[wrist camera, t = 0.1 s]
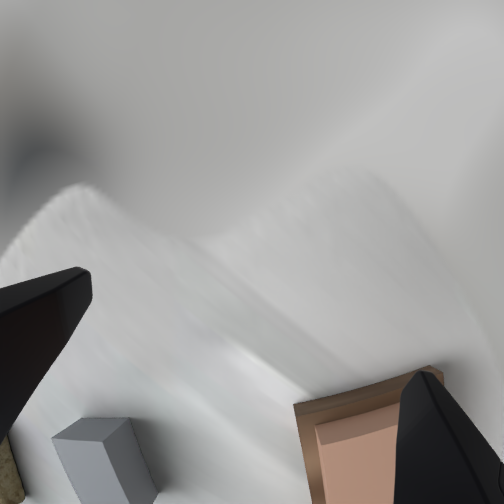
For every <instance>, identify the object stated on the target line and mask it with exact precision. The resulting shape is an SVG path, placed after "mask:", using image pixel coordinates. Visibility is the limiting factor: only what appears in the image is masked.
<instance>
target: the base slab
mask: <svg viewBox="0 0 504 504" xmlns="http://www.w3.org/2000/svg"><path fill="white" fill-rule="evenodd" d="M418 370H425V371H430V372H432V373H433V374H434V375H435V376H436V377H437V379H438V380H439V381H440V382H441V383H442V385H443V386H444V378H443V372H441V371H439V370H437V369H435V368H433V367H431V366H426V367H423V368H421V369H418ZM418 370H415V371H412V372H409V373H406V374H403V375H400V376H397V377H394V378H391V379H388V380H385V381H382V382H379V383H375V384H372V385H369V386H365V387H362V388H358V389H355V390H351V391H347V392H344V393H340V394H336V395H332V396H328V397H324V398H320V399H315V400H311V401H306V402H302V403H297V404H293V406H294V411H295V416H296V421H297V426H298V432H299V437H300V442H301V447H302V452H303V457H304V462H305V468H306V473H307V478H308V483H309V489H310V494H311V499H312V504H326V500H325V492H324V485H323V478H322V471H321V464H320V457H319V451H318V444H317V438H316V431H315V425H319V424H324V423H328V422H332V421H336V420H340V419H344V418H348V417H352V416H356V415H359V414H363V413H367V412H370V411H374V410H377V409H380V408H383V407H387V406H390V405H393V404H396V403H399V402H400V396H401V392H402V390H403V388H404V387H405V386H406V384H407V383H408V382H409V380H410V379H411V378H412V376H413V375H414V374H415V373H416V372H417V371H418Z"/></svg>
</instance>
